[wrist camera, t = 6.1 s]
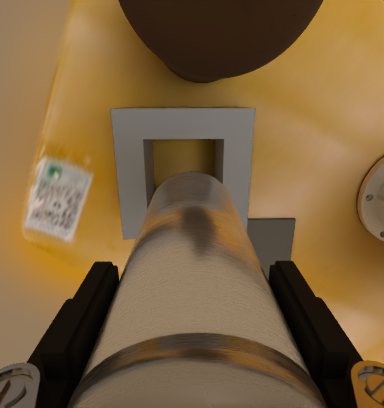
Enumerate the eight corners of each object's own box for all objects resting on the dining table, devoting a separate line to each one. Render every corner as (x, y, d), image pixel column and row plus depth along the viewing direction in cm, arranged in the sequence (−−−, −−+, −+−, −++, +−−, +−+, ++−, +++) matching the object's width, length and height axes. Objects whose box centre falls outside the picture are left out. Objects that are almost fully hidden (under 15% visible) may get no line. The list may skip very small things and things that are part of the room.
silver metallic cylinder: (236, 170, 17) (386, 383, 4) (231, 249, 19) (326, 570, 6) (146, 170, 17) (10, 387, 4) (151, 249, 19) (67, 574, 6)
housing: (239, 106, 30) (255, 108, 23) (234, 211, 34) (246, 237, 27) (126, 107, 30) (110, 108, 23) (135, 212, 34) (123, 239, 27)
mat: (294, 218, 35) (295, 219, 34) (286, 280, 38) (287, 281, 37) (213, 219, 34) (213, 220, 34) (212, 281, 37) (212, 283, 37)
